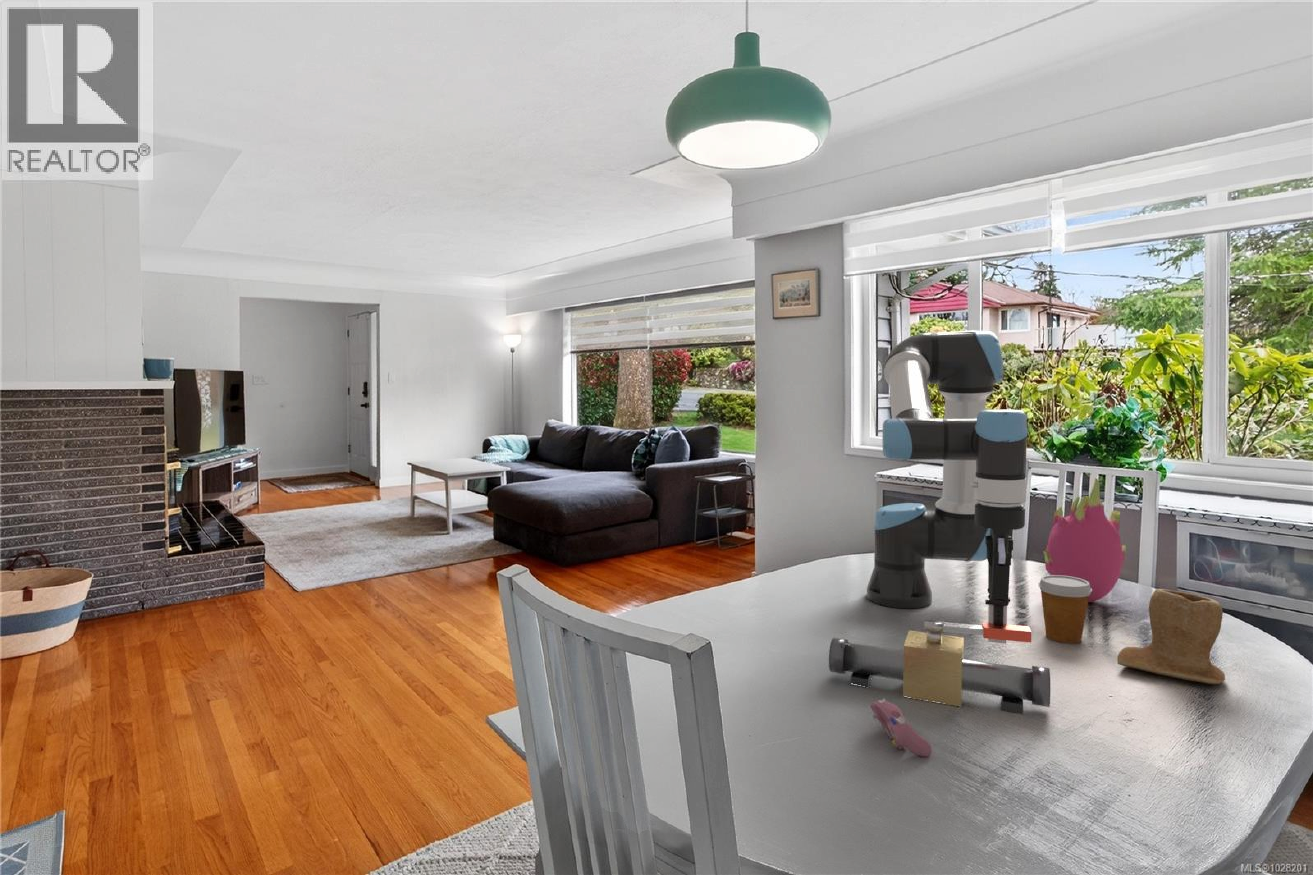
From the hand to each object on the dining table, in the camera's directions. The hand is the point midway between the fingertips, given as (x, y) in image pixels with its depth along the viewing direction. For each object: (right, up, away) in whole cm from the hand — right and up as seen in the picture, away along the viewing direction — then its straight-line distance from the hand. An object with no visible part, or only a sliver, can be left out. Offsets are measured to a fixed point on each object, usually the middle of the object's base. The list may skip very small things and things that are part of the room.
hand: (996, 641), depth 118 cm
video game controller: (-22, -11, -14) cm, 28 cm away
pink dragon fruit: (+45, -5, +50) cm, 67 cm away
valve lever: (-4, +1, -1) cm, 4 cm away
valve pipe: (-10, -9, +2) cm, 14 cm away
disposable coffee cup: (+27, -7, +26) cm, 38 cm away
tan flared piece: (+36, -8, +9) cm, 38 cm away
